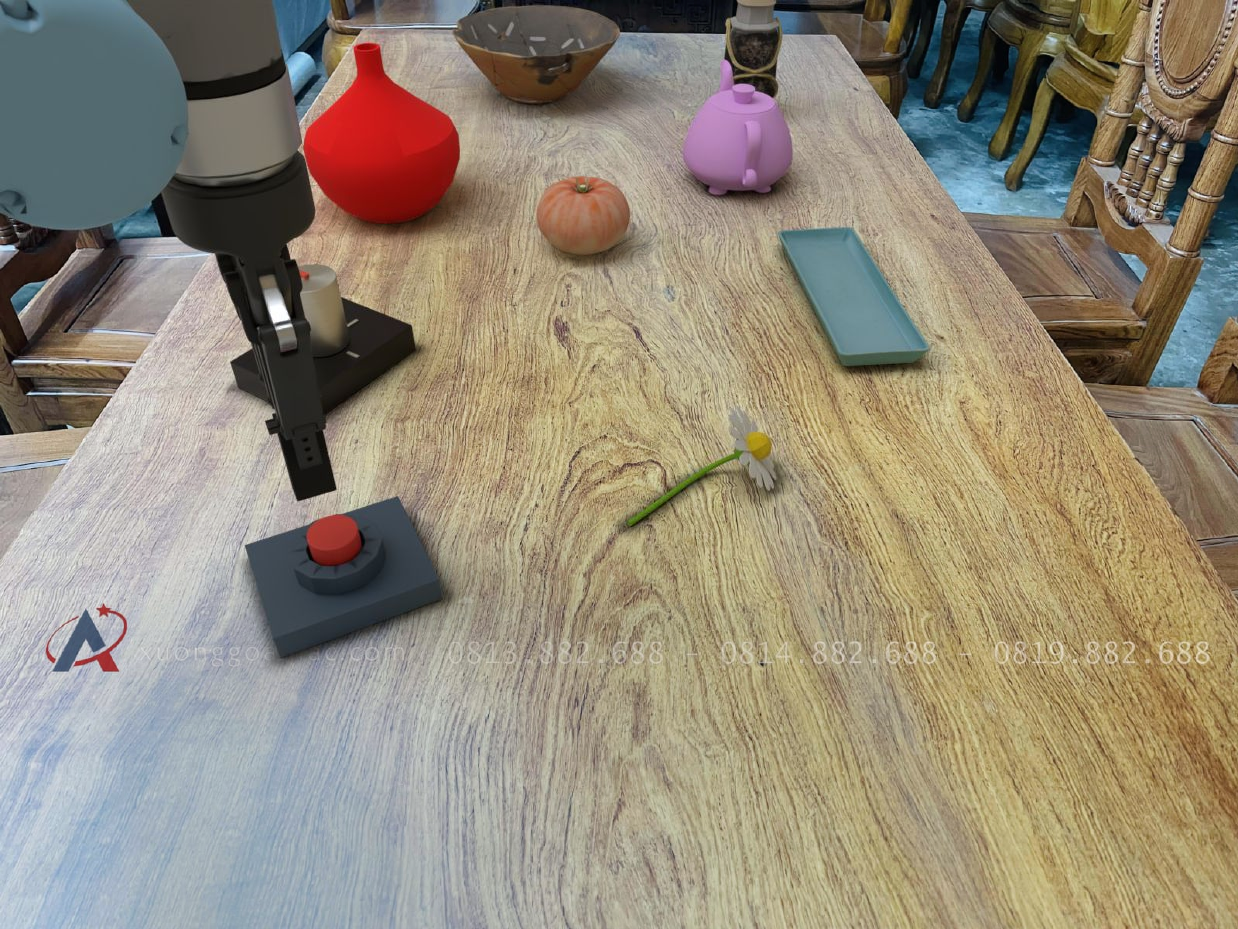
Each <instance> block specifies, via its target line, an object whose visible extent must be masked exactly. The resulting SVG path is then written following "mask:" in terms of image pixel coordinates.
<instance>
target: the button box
mask: <svg viewBox="0 0 1238 929" xmlns="http://www.w3.org/2000/svg"><path fill="white" fill-rule="evenodd" d="M333 515H344V516H347V517H350V518H351V519H353V520H354V521H355V522H356V524H357V527H358V531H359V535H360V539H361V543H362V546H361V550H360V552H359V554H358V555H357V556H356V557H355V558H354V559H353V560H351V561H350V562H348V563H345V564H342V565H339V566H324V565H321V564H319V563H317V562H316V561H315V560H314V559H313V557H312V554H311V551H310V548H309V545H308V541H307V532H308V530H309V528H310V527H311V526H312V524H314V523H315V522H316V521H318V520H319V519H315V520H313V521H311V522H310V523H309V524H306V525H303V526H299V527H296V528H294V529H290V530H287V531H284V532H281V533H278V534H275V535H272V536H268V537H265V538H263V539H259V540H257V541H253V542H249V543H246V544H245V545H244V548H245V552H246V555H247V559H248V562H249V565H250V568H251V571H252V575H253V578H254V582H255V585H256V588H257V591H258V594H259V597H260V600H261V604H262V607H263V610H264V614H265V618H266V620H267V624H268V626H269V630H270V634H271V636H272V639H273V643H274V645H275V648H276V651H277V654H278V656H279V658H280V659H282V658H285V657H288V656H290V655H293V654H296V653H298V652H301V651H304V650H306V649H309V648H312V647H315V646H318V645H320V644H323V643H326V642H329V641H332V640H335V639H336V638H339V637H342V636H346V635H348V634H351V633H354V632H356V631H359V630H361V629H364V628H367V627H369V626H372V625H375V624H378V623H381V622H384V621H386V620H389V619H391V618H394V617H397V616H400V615H402V614H405V613H408V612H411V611H413V610H417V609H418V608H421V607H424V606H427V605H430V604H432V603H436V602H438V601H441V600H443V599H444V597H443V592H442V584H441V580H440V577H439V575H438V573H437V571H436V569H435V567H434V565H433V563H432V561H431V559H430V556H429V555H428V553H427V551H426V549H425V547H424V545H423V543H422V541H421V539H420V537H419V535H418V533H417V531H416V529H415V527H414V525H413V523H412V520H411V519H410V517H409V515H408V513H407V511H406V509H405V507H404V505H403V503H402V501H401V499H400V497H399V496H398V495H397V496H393V497H390V498H387V499H384V500H381V501H378V502H374V503H372V504H369V505H365V506H362V507H359V508H356V509H353V510H350V511H347V512H343V513H334V514H333Z"/></svg>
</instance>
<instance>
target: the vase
mask: <svg viewBox="0 0 1238 929" xmlns="http://www.w3.org/2000/svg"><path fill="white" fill-rule="evenodd" d="M352 49H353V54H354V55H353V56H354V60H355V66H356V76H355V78H354V80H353V82H352V83H351V85H350V86H349V88H347V89H346V91H345V92H343V94H342V95H341V96H339V97H338V99H336V101H335V102H333V104H332V105H330V106H329V107H328V108H327V109H326V110H325V111H324V112H323V113H322V114H321V115H320V116H318V118H316V119H315V120H314V121H313V122H312V123H311V124H310V125H309V126H308V127H307V129H306V131H305V134H304V138H303V139H304V140H303V146H302V151H303V155H304V158H305V160H306V165H307V170H308V173H309V174H310V176H311V178H313V180H314V181H315V183H316V184H317V186H318V188H320V190H321V191H322V193H323V194H324V196H326V197H327V198H328V199H329V200H330V201H331V202H332V203H334V205H336V206H337V207H338V208H340V209H341V210H342V211H344V213H347V214H349V215H351V216H353V217H356V218H358V219H359V220H362V221H365V222H369V223H373V224H397V223H403V222H404V223H405V222H407V221H412V220H415V219H417V218H419V217H421V216H424V215H425V214H427V213H428V212H429V211H431V210H432V209H433V208H434V207H435V206H436V205H438V204H439V203H440V202H441V201H442V199H443V197H444V196H445V194H446V193H447V191H448V190H449V189H450V187H451V185H452V184H453V182H454V179H455V176H456V173H457V169H458V167H459V163H460V161H461V160H460V159H461V146H460V134H459V132H458V130H457V128H456V126H455V124H454V122H453V121H452V119H451V118H450V116H449V115H448V114H447V113H445V112H443V111H442V110H440V109H438V108H436V107H434V106H433V105H431V104H430V103H428V102H426V101H424V100H423V99H421V98H420V97H418V96H416V95H414V94H413V93H411V92H410V91H408V90H406V89H405V88H403V87H402V86H400V85H399V84H398V83H396V82H394V81H393V80H392V79H391V78H390V76H389V75H388V74H386V71H385V68H384V62H383V56H382V50H381V45H380V44H378V43H376V42H362V43H358V44H356V45H354V46H353V48H352Z"/></svg>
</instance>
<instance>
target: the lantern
mask: <svg viewBox="0 0 1238 929" xmlns="http://www.w3.org/2000/svg"><path fill="white" fill-rule="evenodd" d="M736 1H737V8H736V15H735V16H733V17H728V18H726V20H725V25H724V26H725V28H726V30H725V47H724V58H723V60H727V61H728V62H729V63H730V65H731V68H732V73H733V80H734V85H737V84H749V85H752V86H754V87H755V91H757V92H761V93H764V94H766V95H768V96H770V97H771V98H773V99H774V98H776V96H777V95H778V92H779V82H778V80H777V68H778V57H779V54H780V52H781V47H782V43H783V28H782V24H781V20H780V18H779V17H777V16H776V17H774V15H775V14H774V12H775V11H774V10H775V5H776V4H777V0H736Z"/></svg>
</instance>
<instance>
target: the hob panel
mask: <svg viewBox="0 0 1238 929" xmlns="http://www.w3.org/2000/svg"><path fill="white" fill-rule="evenodd" d="M341 299H342V304H343V309H344V313H345V318H346V323H347V327H348V332H349V337H350V341H349V344H348V345H347V346H346V347H345V348H344V349H343V350H342V351H340V352H338V353H336V354H333V355H330V356H325V357H313V361H314V367H315V372H316V377H317V383H318V387H319V389H320V392H321V394H322V396H321V397H320V399H321V404H322V410H323V415H324V416H325V415H326V414H328V413H329V412H331V411H332V410H333V409H335V408H336V407H338V406H339V405H341V404H342V403H343V402H345V401H346V400H348V399H349V398H351V396H353V395H354V394H356V393H357V392H359V391H361V390H362V389H363V388H364V387H366V386H367V385H369V384H370V383H371V382H373V381H375V380H376V379H378V378H379V377H380V376H382V374H384V373H386V372H388V371H389V370H390V369H391V368H393V367H394V366H396V365H397V364H398V363H400V362H401V361H403V360H404V359H405V358H406V357H408V356H410V355H411V354H413V353H414V352H415V351H416V350H417V348H416V342H415V336H414V330H413V329H414V328H413V325H412V324H410V323H408V322H405V321H402V320H401V319H397V318H395V317H393V316H390V315H388V314H385V313H383V312H380V311H378V310H376V309H372V308H370V307H367V306H365V305H363V304H361V303H358V302H356V301H352V300H350V299H347V298H346V297H342V296H341ZM229 363H230V366H231V370H232V373H233V376H234V379H235V383H236V385H237V388H238V389H240V390H243V391H245V392H247V393H249V394H251V395H253V396H255V397H258V398H259V399H262V400H264V401H266V402H268V401H267V398H266V397H267V395H268V394H267V390H266V386H264V385H263V384H262V382H260V379H259V376H258V374H259V373H260V372H259V369H258V365H257V362H256V358H255V355H254V352H253V348H252V347H251V348H250V349H248V350H247V351H245V352H243V353H242V354H240V355H238V356H237V357H235V358H234V359H231V360H230V361H229Z"/></svg>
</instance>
